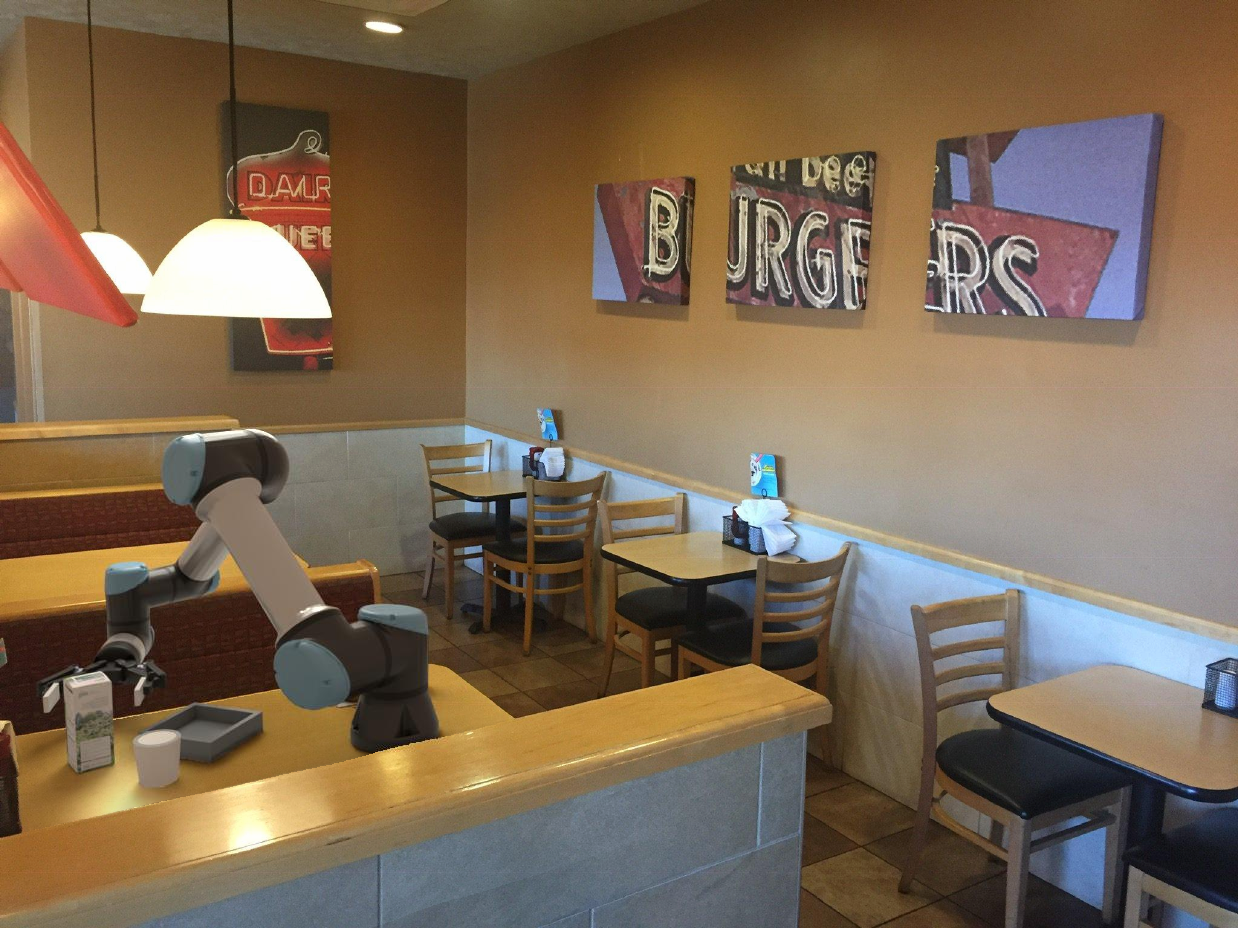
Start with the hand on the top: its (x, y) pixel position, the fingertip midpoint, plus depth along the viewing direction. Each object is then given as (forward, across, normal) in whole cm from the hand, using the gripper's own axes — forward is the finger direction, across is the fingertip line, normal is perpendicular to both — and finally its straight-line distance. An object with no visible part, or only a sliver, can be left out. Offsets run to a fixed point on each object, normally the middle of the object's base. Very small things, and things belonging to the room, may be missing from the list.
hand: (91, 701), depth 166 cm
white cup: (+13, -12, -9) cm, 20 cm away
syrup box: (+5, 0, -9) cm, 10 cm away
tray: (-1, -17, -9) cm, 19 cm away
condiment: (-16, -42, -9) cm, 46 cm away
